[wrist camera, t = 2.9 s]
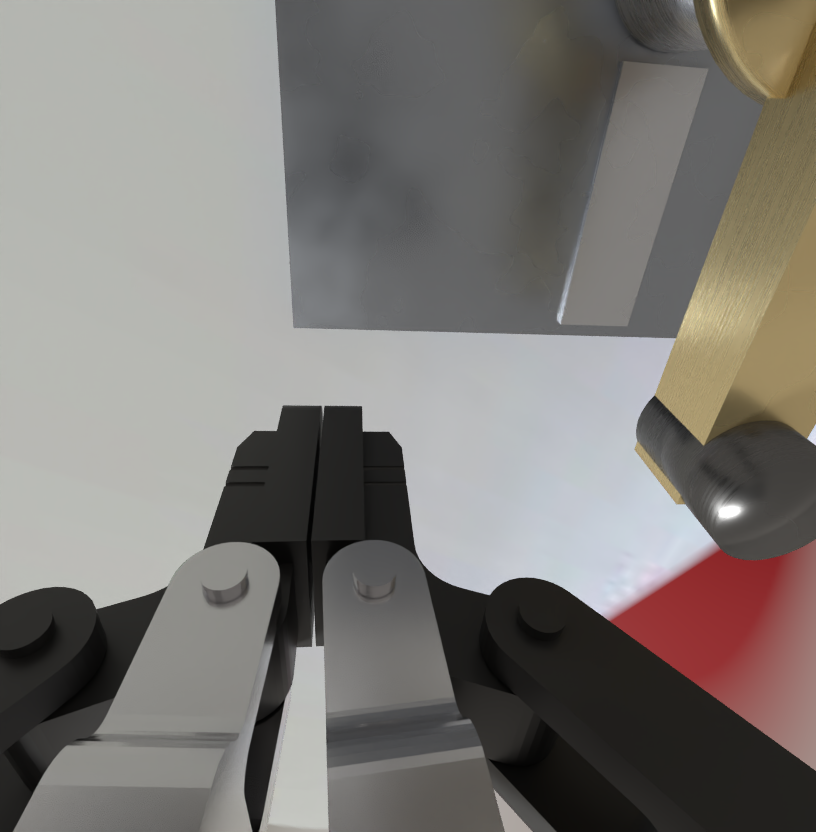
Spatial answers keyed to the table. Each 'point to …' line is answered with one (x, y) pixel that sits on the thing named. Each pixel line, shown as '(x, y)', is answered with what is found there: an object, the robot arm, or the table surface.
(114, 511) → the table surface
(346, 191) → the lock base
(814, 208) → the brass lever handle
